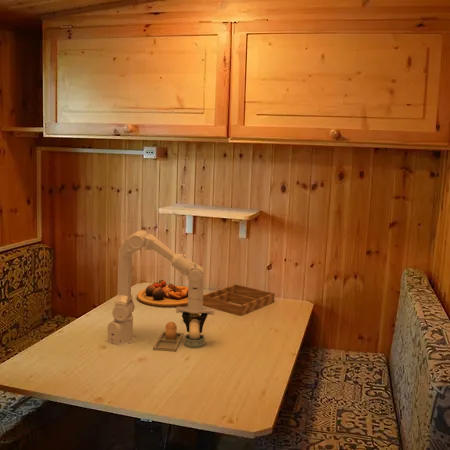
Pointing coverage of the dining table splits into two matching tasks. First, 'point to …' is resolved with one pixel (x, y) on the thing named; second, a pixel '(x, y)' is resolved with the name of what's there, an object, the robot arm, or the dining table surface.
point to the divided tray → (168, 343)
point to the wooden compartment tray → (237, 299)
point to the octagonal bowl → (194, 342)
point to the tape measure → (194, 316)
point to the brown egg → (171, 331)
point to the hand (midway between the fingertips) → (194, 331)
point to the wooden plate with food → (164, 295)
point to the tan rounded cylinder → (194, 329)
